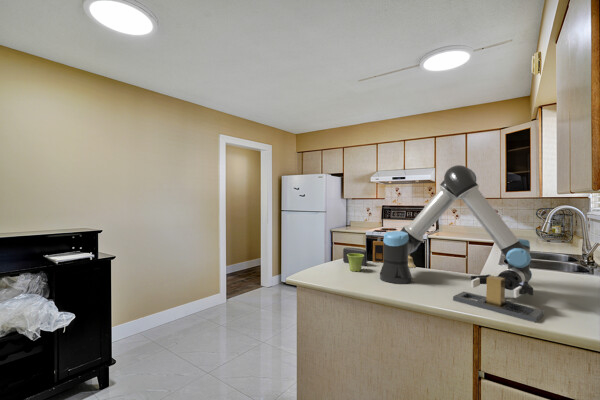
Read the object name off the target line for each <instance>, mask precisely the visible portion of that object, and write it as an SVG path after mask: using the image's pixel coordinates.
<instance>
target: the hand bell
mask: <svg viewBox="0 0 600 400" xmlns="http://www.w3.org/2000/svg"><path fill="white" fill-rule="evenodd" d="M408 266H409V269H412V268H411V267H414V268H416V265H415V264H414V259H413V257H412V256H411V253H410V254H408Z"/></svg>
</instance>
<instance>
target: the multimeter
mask: <svg viewBox="0 0 600 400" xmlns="http://www.w3.org/2000/svg"><path fill="white" fill-rule="evenodd" d="M382 232H383V233H384V232H385V233H387V231H386V230H385V231H384V230H383V231H381V233H382ZM376 233H379V231H378V230H376ZM373 234H374V232H372V234H371V236H370V237H371V239H370V241H371V242H370V243H371V248H370V251H369V253H368V255H367V262H368V261H370V259H369V256H370V253H371V250H372V262H373V263H384V242H383V241H381V238H380V236H377V240H373V239H372V237H373ZM372 240H373V241H372Z"/></svg>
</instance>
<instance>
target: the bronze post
mask: <svg viewBox="0 0 600 400" xmlns="http://www.w3.org/2000/svg"><path fill="white" fill-rule="evenodd" d="M496 276H497V275H491V276H489V277H487V284H486V291H485V292H486V294H485V295H486V296H485V297H486V303H488V304H492V305H496V306H500V307H503V306H505V301H506V299H505V298H506V295H505V294H506V289H505V278H502V277H496Z"/></svg>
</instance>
